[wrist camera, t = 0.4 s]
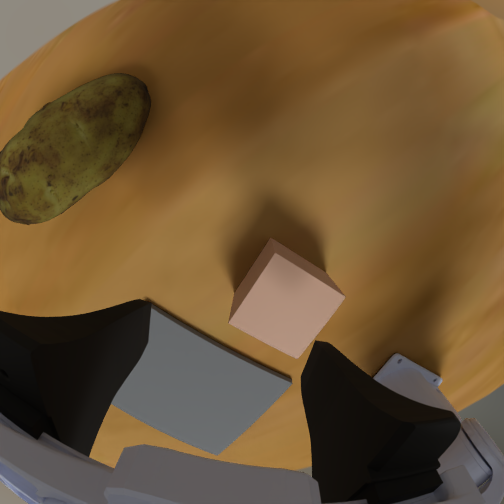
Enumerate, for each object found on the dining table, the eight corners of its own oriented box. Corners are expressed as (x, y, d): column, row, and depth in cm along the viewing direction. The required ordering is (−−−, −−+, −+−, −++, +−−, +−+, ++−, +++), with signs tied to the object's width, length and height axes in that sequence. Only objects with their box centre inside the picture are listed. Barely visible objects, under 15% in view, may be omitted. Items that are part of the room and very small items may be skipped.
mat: (291, 379, 22) (292, 383, 22) (217, 451, 25) (217, 455, 24) (147, 301, 21) (145, 304, 20) (106, 395, 24) (103, 398, 23)
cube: (326, 272, 20) (345, 296, 15) (288, 323, 21) (297, 359, 16) (270, 237, 20) (275, 252, 15) (234, 292, 21) (228, 323, 16)
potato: (178, 171, 19) (130, 161, 11) (54, 227, 20) (-10, 245, 12) (153, 76, 17) (106, 30, 9) (37, 144, 18) (-24, 139, 10)
